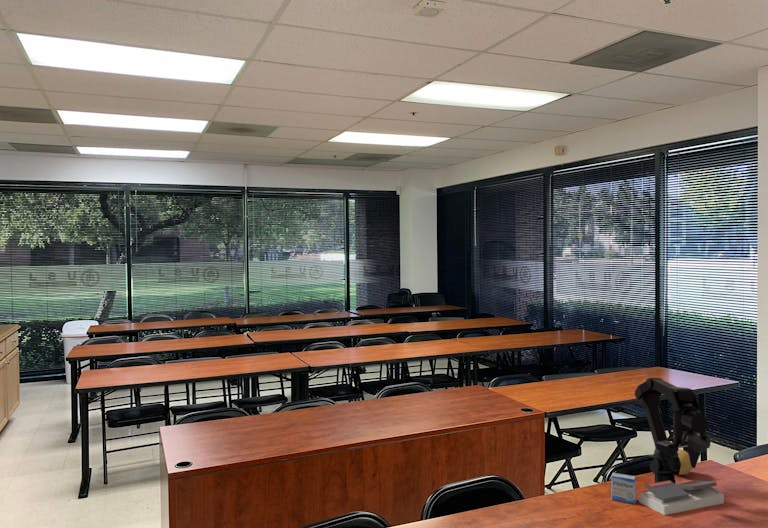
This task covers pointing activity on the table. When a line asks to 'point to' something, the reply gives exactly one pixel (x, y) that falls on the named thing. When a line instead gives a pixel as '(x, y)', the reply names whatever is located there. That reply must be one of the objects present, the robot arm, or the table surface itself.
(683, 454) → the stress ball
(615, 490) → the medicine box
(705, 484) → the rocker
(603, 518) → the table surface
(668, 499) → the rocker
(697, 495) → the light switch base
